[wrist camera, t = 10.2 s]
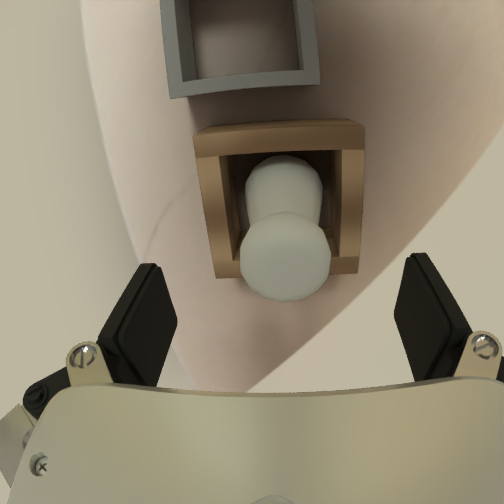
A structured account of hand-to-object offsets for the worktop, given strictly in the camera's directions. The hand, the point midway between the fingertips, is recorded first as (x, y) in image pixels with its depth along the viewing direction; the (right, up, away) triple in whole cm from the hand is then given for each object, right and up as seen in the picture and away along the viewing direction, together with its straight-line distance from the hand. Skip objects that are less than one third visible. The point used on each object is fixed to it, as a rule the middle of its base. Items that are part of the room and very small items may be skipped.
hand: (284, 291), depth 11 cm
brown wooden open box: (+1, +7, +13) cm, 15 cm away
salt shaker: (+1, +7, +13) cm, 15 cm away
